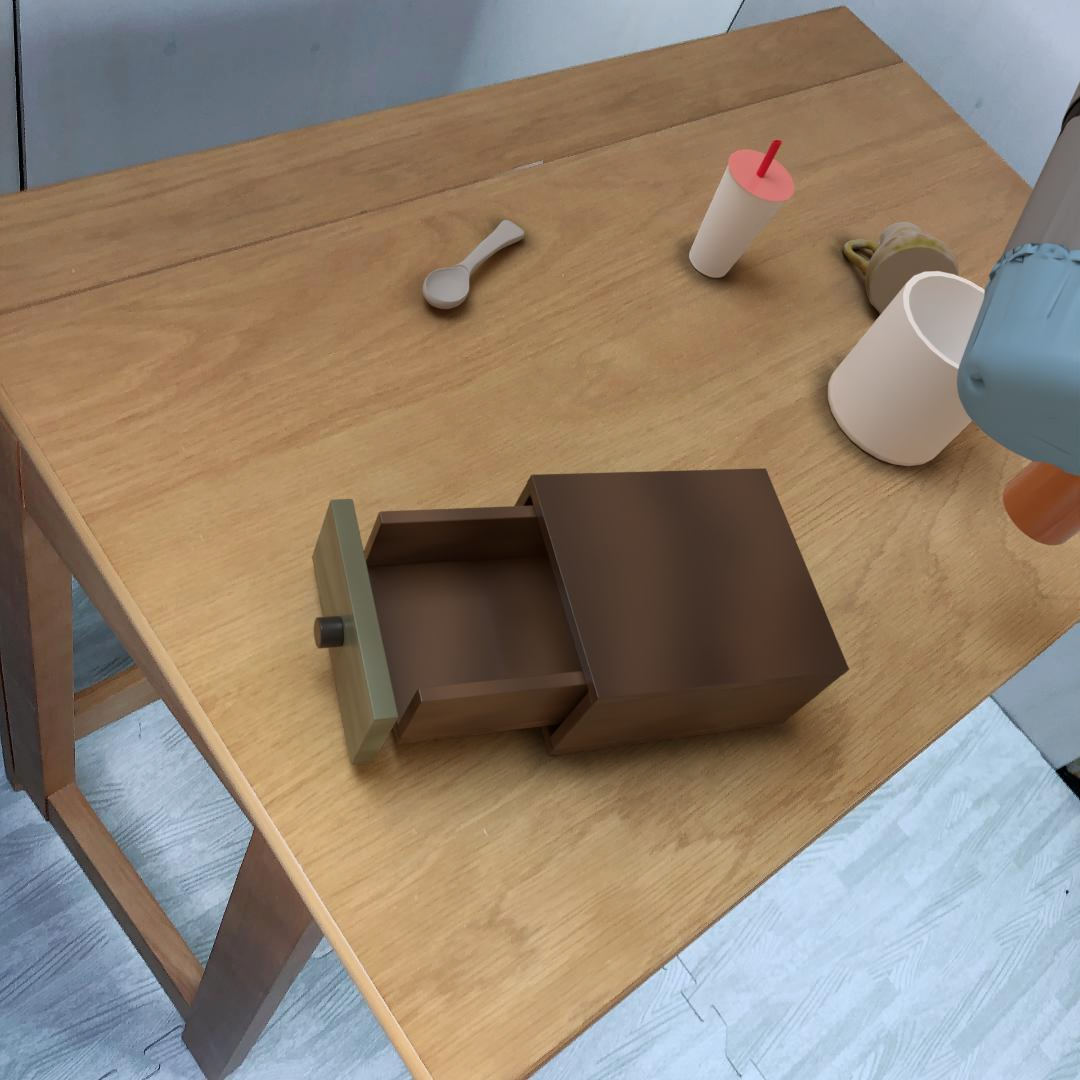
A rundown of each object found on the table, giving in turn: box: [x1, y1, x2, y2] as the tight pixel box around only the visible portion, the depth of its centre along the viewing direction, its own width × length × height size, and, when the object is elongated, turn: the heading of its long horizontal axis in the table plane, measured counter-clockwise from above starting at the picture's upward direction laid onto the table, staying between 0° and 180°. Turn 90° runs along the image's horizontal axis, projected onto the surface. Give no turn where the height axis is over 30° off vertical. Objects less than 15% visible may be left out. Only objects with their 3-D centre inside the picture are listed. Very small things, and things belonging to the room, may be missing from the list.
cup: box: [688, 139, 796, 279], centre depth 87 cm, size 5×5×12 cm
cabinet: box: [513, 467, 850, 756], centre depth 67 cm, size 16×14×8 cm
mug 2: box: [827, 271, 985, 467], centre depth 85 cm, size 13×10×10 cm
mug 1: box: [843, 221, 960, 316], centre depth 95 cm, size 8×10×10 cm
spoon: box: [422, 219, 525, 310], centre depth 82 cm, size 3×12×2 cm, turn 149°
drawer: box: [311, 498, 589, 766], centre depth 62 cm, size 16×12×6 cm
